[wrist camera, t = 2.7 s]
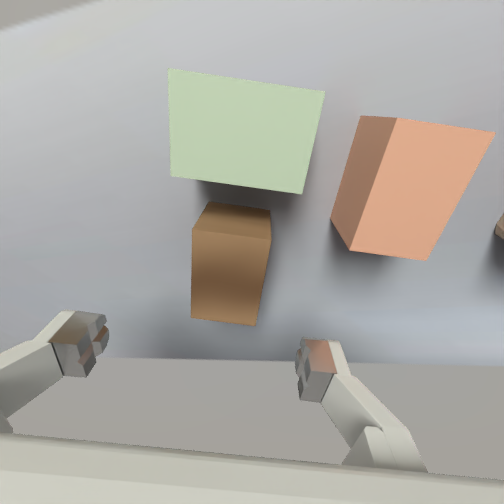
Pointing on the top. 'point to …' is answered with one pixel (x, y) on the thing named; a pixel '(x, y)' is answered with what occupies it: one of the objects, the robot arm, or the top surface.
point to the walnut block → (229, 262)
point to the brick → (500, 227)
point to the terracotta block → (404, 184)
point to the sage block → (241, 130)
